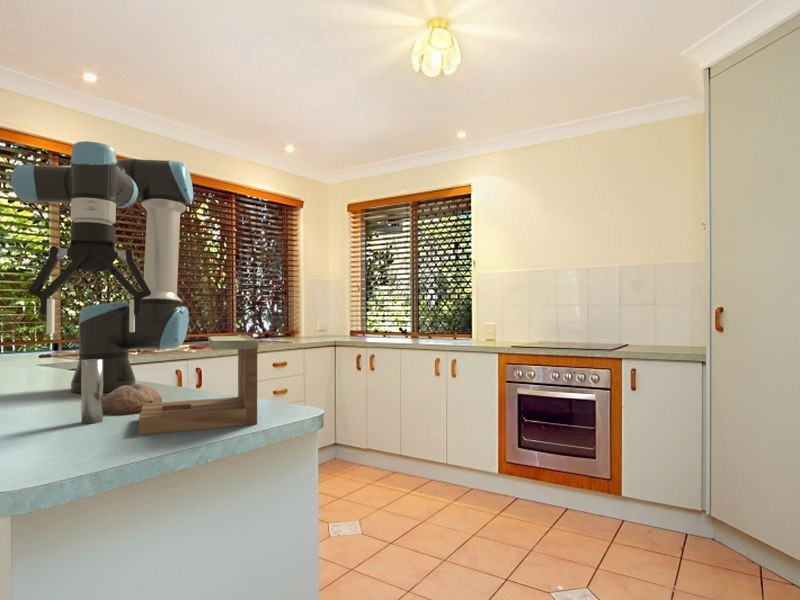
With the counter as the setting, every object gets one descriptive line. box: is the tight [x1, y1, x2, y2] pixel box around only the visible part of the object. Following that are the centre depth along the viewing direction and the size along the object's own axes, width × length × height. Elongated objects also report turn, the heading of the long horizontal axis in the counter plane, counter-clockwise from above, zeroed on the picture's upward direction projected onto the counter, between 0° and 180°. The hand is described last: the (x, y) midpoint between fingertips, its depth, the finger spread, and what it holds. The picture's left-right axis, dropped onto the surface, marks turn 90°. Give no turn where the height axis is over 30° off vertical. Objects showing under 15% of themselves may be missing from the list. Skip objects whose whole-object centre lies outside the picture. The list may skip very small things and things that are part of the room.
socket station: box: [138, 335, 259, 436], centre depth 99 cm, size 16×20×16 cm
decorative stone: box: [103, 383, 163, 416], centre depth 110 cm, size 12×12×6 cm
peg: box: [80, 359, 104, 425], centre depth 98 cm, size 4×4×12 cm
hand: (92, 333), depth 98 cm, fingers open, 13 cm apart
